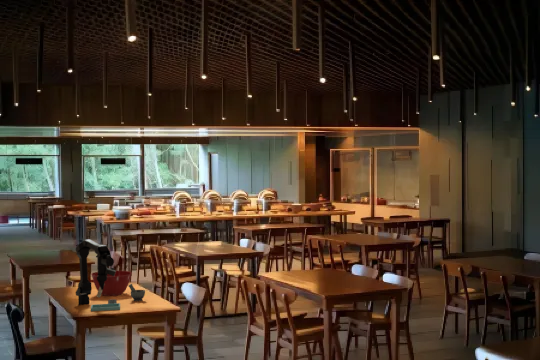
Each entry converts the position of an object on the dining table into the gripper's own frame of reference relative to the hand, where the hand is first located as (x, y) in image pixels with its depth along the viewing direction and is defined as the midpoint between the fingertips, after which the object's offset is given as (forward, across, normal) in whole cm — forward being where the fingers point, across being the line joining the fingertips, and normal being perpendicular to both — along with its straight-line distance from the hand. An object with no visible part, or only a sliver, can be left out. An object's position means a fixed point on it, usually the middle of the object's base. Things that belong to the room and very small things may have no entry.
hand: (102, 289), depth 453 cm
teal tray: (+13, 0, -2) cm, 13 cm away
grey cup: (+13, +10, -6) cm, 17 cm away
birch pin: (+5, 0, +1) cm, 5 cm away
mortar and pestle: (+13, +24, -22) cm, 35 cm away
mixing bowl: (+13, +55, -5) cm, 57 cm away
